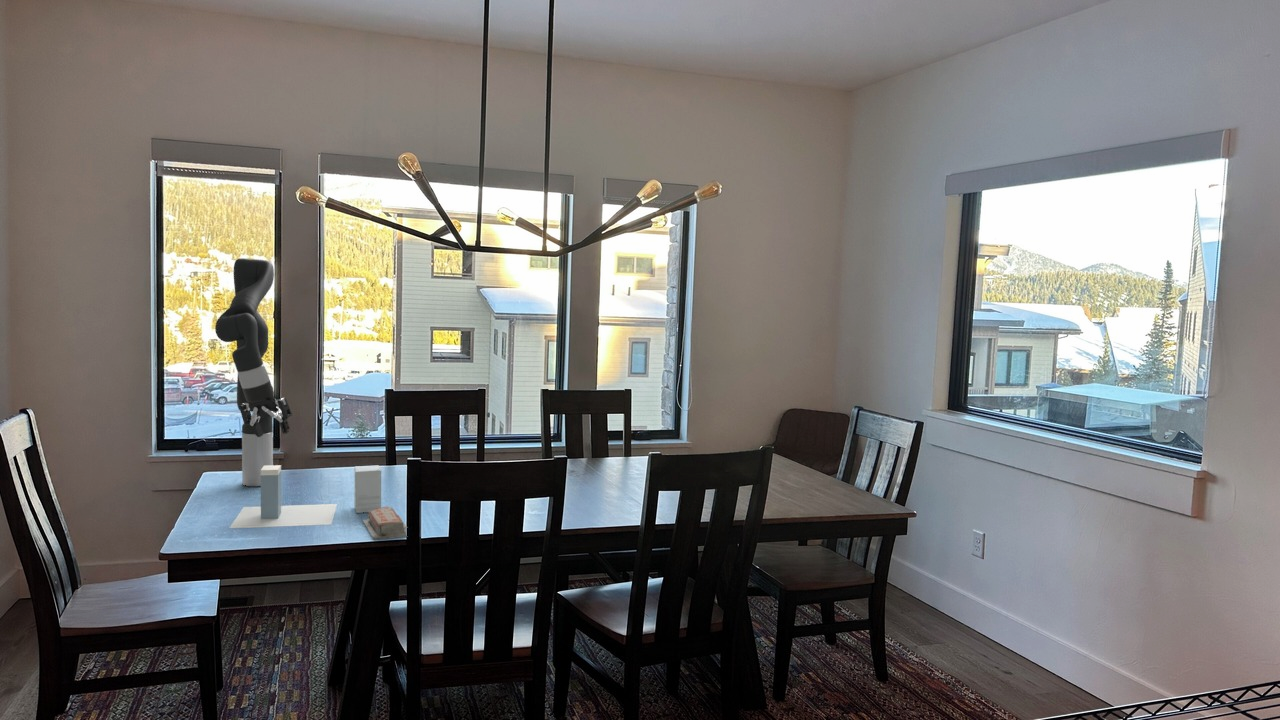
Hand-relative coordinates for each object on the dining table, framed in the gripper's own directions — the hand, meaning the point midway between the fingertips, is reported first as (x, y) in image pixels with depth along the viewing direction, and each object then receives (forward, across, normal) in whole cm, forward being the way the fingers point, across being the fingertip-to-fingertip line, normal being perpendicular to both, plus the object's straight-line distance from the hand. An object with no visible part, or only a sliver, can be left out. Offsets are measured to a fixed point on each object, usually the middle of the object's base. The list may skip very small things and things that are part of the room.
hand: (273, 434), depth 244 cm
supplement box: (+29, -20, -4) cm, 35 cm away
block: (+20, +1, +11) cm, 23 cm away
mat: (+22, -2, +10) cm, 24 cm away
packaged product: (+28, -34, +13) cm, 46 cm away
